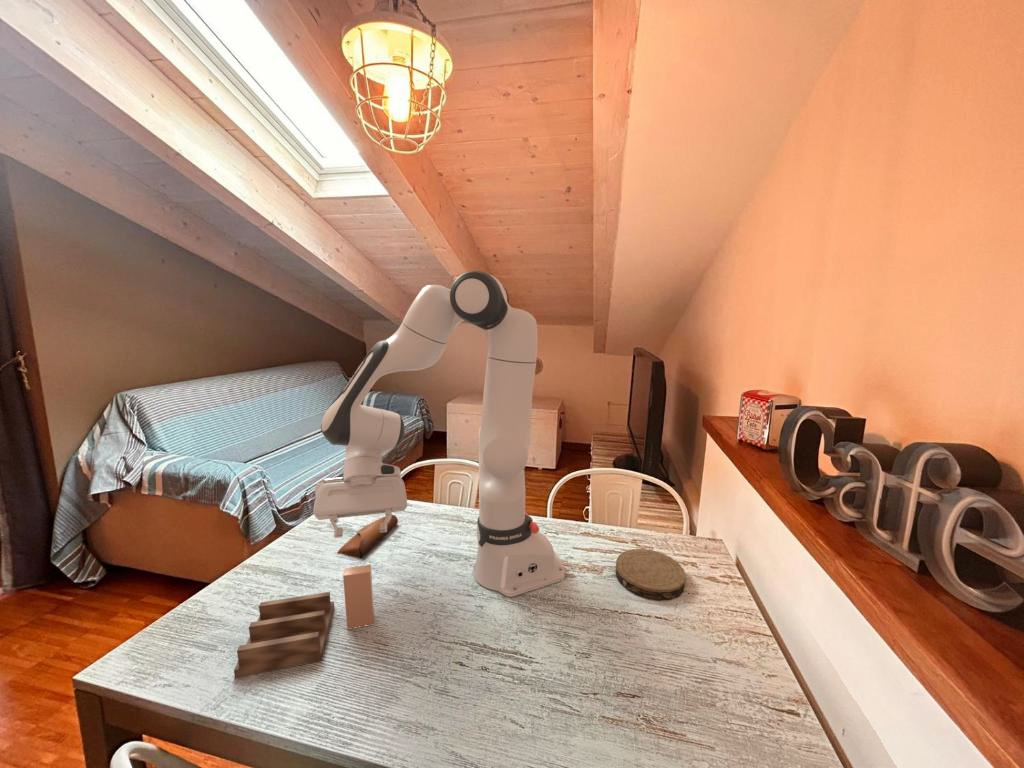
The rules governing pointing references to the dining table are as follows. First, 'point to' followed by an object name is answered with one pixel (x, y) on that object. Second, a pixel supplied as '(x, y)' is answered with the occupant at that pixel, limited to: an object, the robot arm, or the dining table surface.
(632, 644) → the dining table surface
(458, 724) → the dining table surface
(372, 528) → the sunglasses case
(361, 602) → the clay slab
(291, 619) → the rack
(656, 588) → the wood slice
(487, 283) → the robot arm
